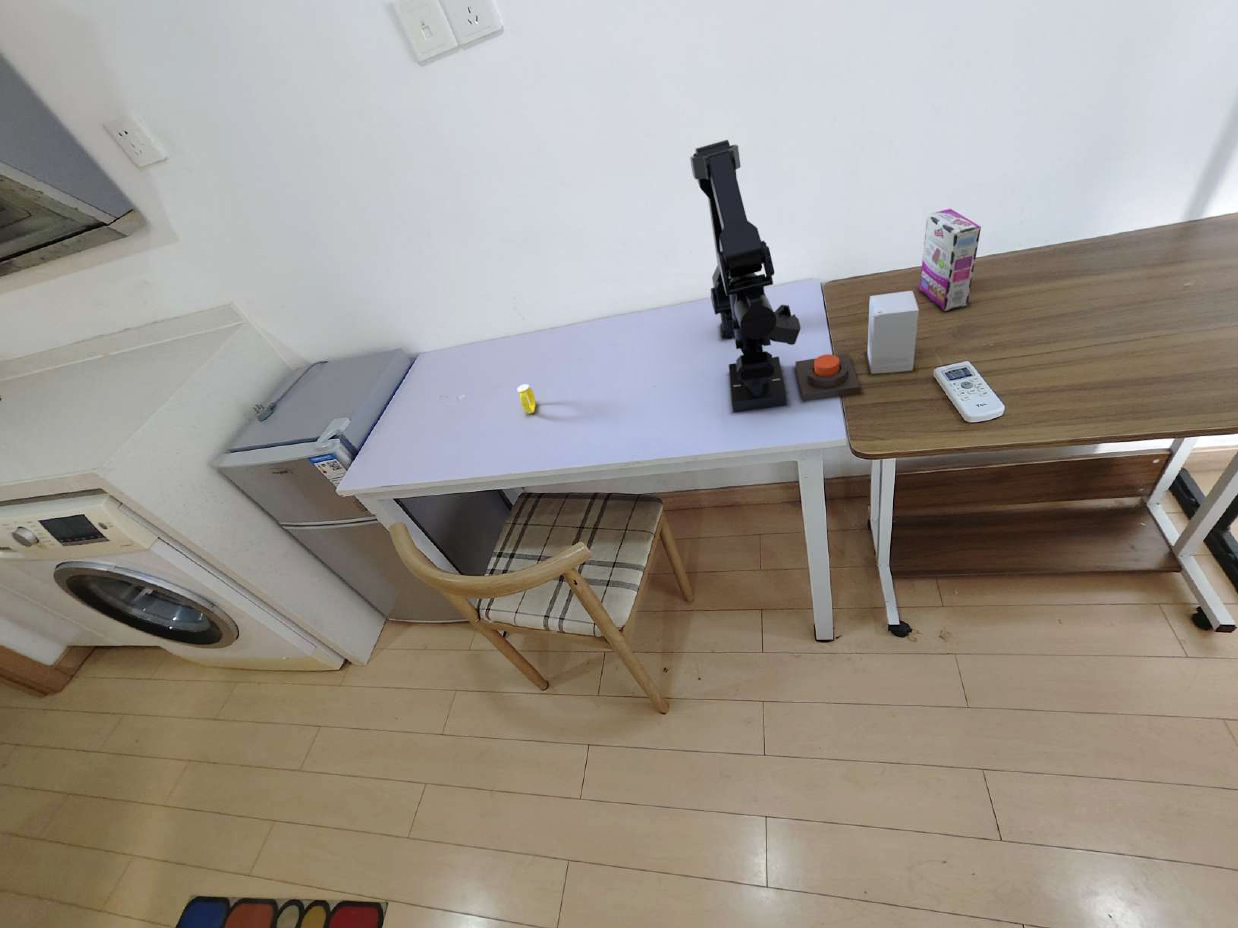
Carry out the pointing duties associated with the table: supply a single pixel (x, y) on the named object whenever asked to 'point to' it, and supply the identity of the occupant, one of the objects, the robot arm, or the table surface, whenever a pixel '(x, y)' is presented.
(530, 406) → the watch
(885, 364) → the white packaging box
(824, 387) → the brown button base
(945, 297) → the candy bar box
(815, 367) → the button
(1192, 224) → the table surface
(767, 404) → the hob panel
